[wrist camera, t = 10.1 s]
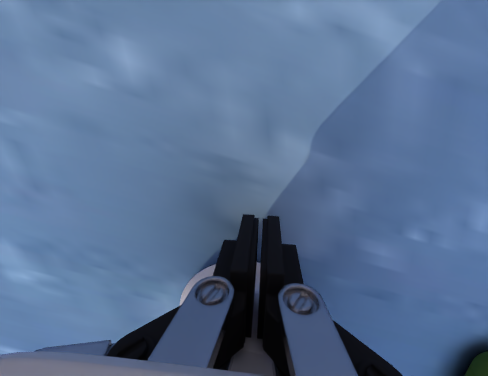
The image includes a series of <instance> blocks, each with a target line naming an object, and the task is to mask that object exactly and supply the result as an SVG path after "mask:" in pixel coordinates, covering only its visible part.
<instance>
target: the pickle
mask: <svg viewBox="0 0 488 376" xmlns="http://www.w3.org/2000/svg"><path fill="white" fill-rule="evenodd" d="M465 376H488V351H487V352H482V353H481V354H479V355H477V356H476V357H475V358H474V359H473V361H472V363H471V364H470V366H469V368H468V370H467V372H466V374H465Z"/></svg>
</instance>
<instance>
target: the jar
mask: <svg viewBox="0 0 488 376" xmlns="http://www.w3.org/2000/svg"><path fill="white" fill-rule="evenodd" d="M260 265H261V263H258V262H257V265H256V280H255V293H254V307H253V321H252V334H251V338H249V337H245V343H244V347H243V348H242V349H241V350H240V351H238V352H237V353H236V354H235V355H234V358H233V363H232V366H231V369H230V371H235V372H243V373H251V374H259V375H267V376H273V370H272V359H271V358H270V357H269V356H268V355H267V353H266V352H265V351H264V350H263V347H262V345H263V339H258V338H257V327H258V306H259V285H260ZM215 266H216V264H215V265H212V266H209V267H207V268H205V269H203V270H202V271H200V272H199V273H197V274H196V275H195V276H194V277H193V278H192V279H191V280H190V281H189V282H188V284H187V285H186V287H185V288H184V290H183V293H182V296H181V300H180V305H182V303H183V302H184V300H185V298H186V297H187V295H188V294H189V292H190V290H191V289H192V287H193V286H194V285H195V284H196V282H198V281H199V280H201V279H203V278H206V277H210V276H213V273H214V270H215Z"/></svg>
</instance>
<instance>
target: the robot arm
mask: <svg viewBox="0 0 488 376" xmlns="http://www.w3.org/2000/svg"><path fill="white" fill-rule="evenodd" d="M258 222H259V218H254V215H246V214H243V217H242V221H241V226H240V230H239V234H238V239H237V241H235V240H224V242H223V245H222V248H221V251H220V254H219V257H218V260H217V263H216V266H215V270H214V273H213V276H210V277H206V278H203V279H201V280H199V281H198V282H196V284H195V285H194V286H193V287H192V289H191V290H190V292H189V294H188V295H187V297H186V298H185V300H184V302H183V303H182V305H180V306H179V307H177V308H175V309H173V310H171V311H169V312H168V313H166V314H164V315H162V316H160V317H159V318H157V319H155V320H153V321H151V322H149V323H148V324H146V325H144V326H142V327H140V328H138V329H137V330H135V331H133V332H131V333H129V334H127V335H126V336H124V337H123V338H121V339H120V340H119V341H118V342H117V343H113V344H112V343H111V340H105V341H97V342H88V343H80V344H72V345H63V346H55V347H47V348H43V349H39V350H36V351H34V352H16V353H9V354H2V355H0V376H267V375H259V374H251V373H243V372H235V371H230V369H231V366H232V363H233V358H234V355H235V354H236V353H237V352H238V351H240V350H241V349H242V348H243V347H244V343H245V337H249V338H251V334H252V321H253V307H254V293H255V280H256V265H257V243H258ZM257 338H258V339H263V345H262V347H263V350H264V351H265V352H266V353H267V355H268V356H269V357H270V358H271V359H272V370H273V376H402V374H401V373H400V372H399V371H398V370H396V369H395V368H394V367H393V366H392V365H391V364H389V363H388V362H387V361H385V360H384V359H383V358H382V357H380V356H379V355H378V354H376V353H375V352H374V351H372V350H371V349H370V348H369V347H367V346H366V345H365V344H363V343H362V342H361V341H359V340H358V339H357V338H355V337H354V336H353V335H352V334H350V333H349V332H348V331H346V330H345V329H344V328H342V327H341V326H340V325H338V324H337V323H336V322H335V321H333V320H332V318H331V316H330V314H329V312H328V309H327V307H326V305H325V303H324V301H323V299H322V297H321V296H320V294H319V293H318V292H317V291H316V290H314V289H313V288H311V287H309V286H307V285H304V284H303V280H302V274H301V269H300V264H299V259H298V254H297V249H296V245H289V244H282V241H281V231H280V221H279V217H278V216H268V217H267V219H263V229H262V247H261V265H260V285H259V306H258V327H257Z"/></svg>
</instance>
